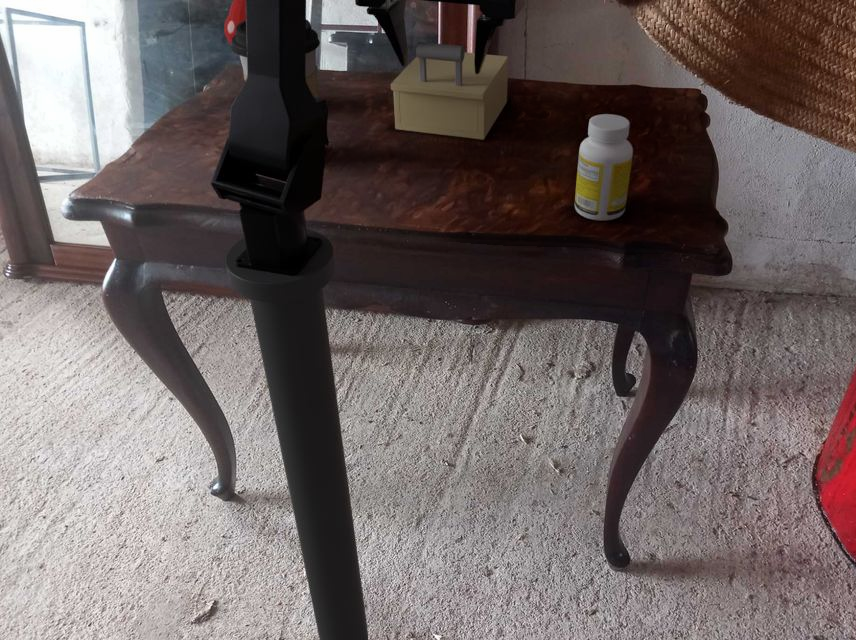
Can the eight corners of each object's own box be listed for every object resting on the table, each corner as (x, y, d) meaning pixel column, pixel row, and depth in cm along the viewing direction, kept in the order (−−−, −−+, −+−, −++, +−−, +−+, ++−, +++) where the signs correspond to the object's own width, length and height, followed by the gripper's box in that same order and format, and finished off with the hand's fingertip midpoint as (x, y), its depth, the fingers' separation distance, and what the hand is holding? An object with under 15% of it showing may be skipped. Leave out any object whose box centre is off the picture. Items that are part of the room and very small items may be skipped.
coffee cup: (340, 166, 92) (327, 33, 83) (259, 179, 89) (235, 44, 80) (321, 134, 99) (306, 8, 89) (245, 146, 96) (221, 17, 87)
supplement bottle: (623, 198, 86) (635, 112, 80) (626, 223, 82) (639, 134, 76) (573, 196, 87) (581, 109, 81) (573, 221, 83) (582, 131, 76)
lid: (482, 100, 94) (483, 54, 91) (390, 90, 96) (388, 45, 93) (508, 62, 104) (509, 19, 101) (424, 54, 106) (423, 12, 103)
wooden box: (483, 139, 98) (484, 98, 95) (395, 129, 100) (392, 88, 97) (506, 102, 107) (508, 62, 104) (425, 93, 110) (424, 54, 106)
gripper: (538, -85, 90) (530, 54, 99) (382, -95, 93) (390, 41, 103) (517, -64, 81) (510, 86, 91) (347, -75, 85) (358, 70, 95)
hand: (440, 69), depth 95 cm, fingers open, 9 cm apart
